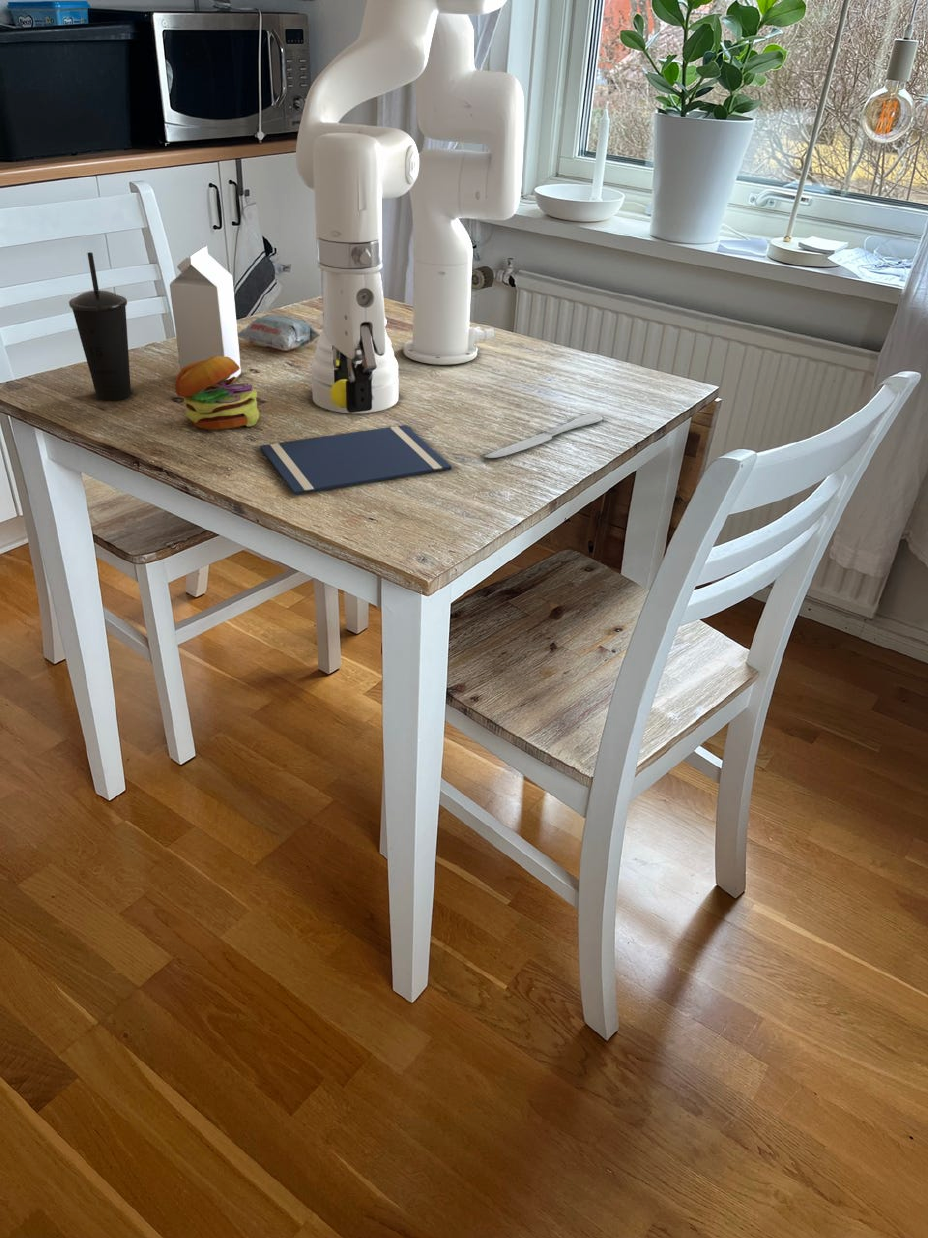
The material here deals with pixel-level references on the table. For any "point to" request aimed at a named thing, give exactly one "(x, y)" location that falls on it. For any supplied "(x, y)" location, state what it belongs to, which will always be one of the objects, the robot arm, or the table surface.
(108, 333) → the drinking cup
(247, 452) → the table surface
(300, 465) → the dish cloth
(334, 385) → the light bulb
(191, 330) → the milk carton
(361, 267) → the robot arm
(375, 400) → the honey pot
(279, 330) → the packaged food
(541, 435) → the butter knife
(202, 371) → the cheeseburger
